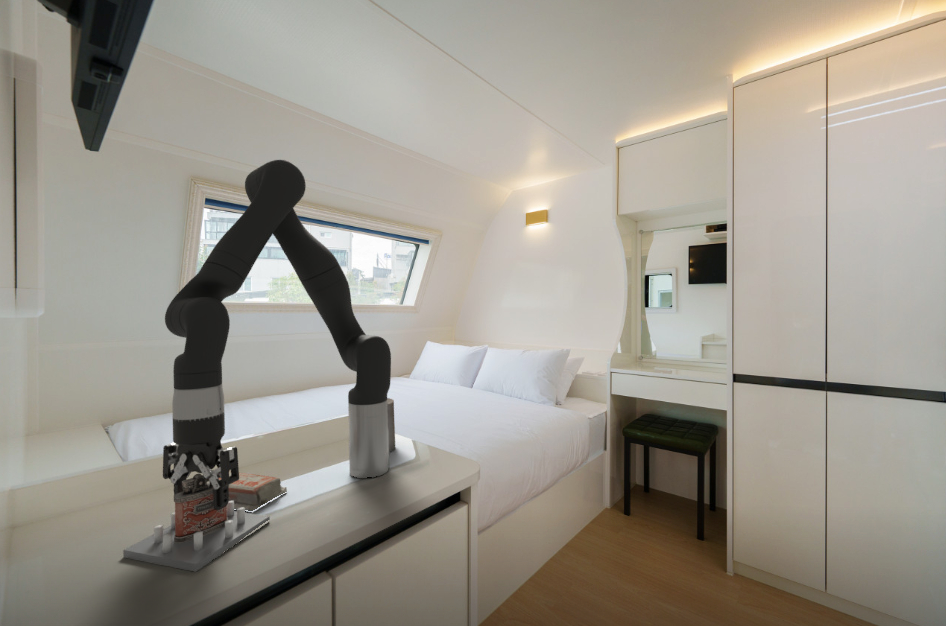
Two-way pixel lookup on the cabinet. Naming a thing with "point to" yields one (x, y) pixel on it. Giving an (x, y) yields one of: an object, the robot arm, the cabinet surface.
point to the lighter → (196, 509)
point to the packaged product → (254, 490)
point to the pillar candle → (391, 423)
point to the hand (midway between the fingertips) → (201, 505)
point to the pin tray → (194, 542)
